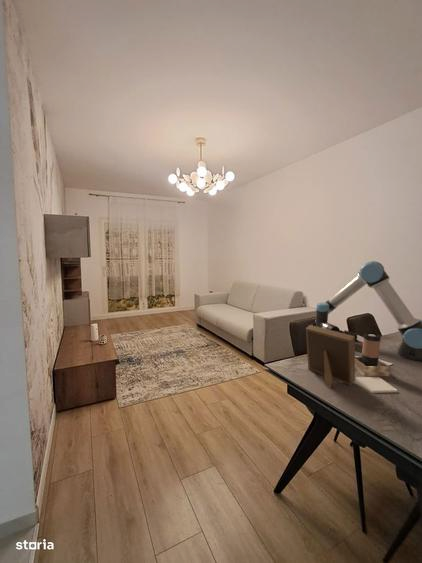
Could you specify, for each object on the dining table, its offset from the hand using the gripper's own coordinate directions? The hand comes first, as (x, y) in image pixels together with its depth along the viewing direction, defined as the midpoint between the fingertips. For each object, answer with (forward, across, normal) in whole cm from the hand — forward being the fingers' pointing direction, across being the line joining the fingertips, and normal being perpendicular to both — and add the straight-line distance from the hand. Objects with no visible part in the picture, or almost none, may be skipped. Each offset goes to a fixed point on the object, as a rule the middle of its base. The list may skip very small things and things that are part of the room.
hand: (356, 342), depth 145 cm
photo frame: (+13, +29, -12) cm, 34 cm away
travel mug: (+10, 0, -12) cm, 16 cm away
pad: (+23, +9, -12) cm, 28 cm away
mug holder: (+10, 0, -12) cm, 15 cm away
